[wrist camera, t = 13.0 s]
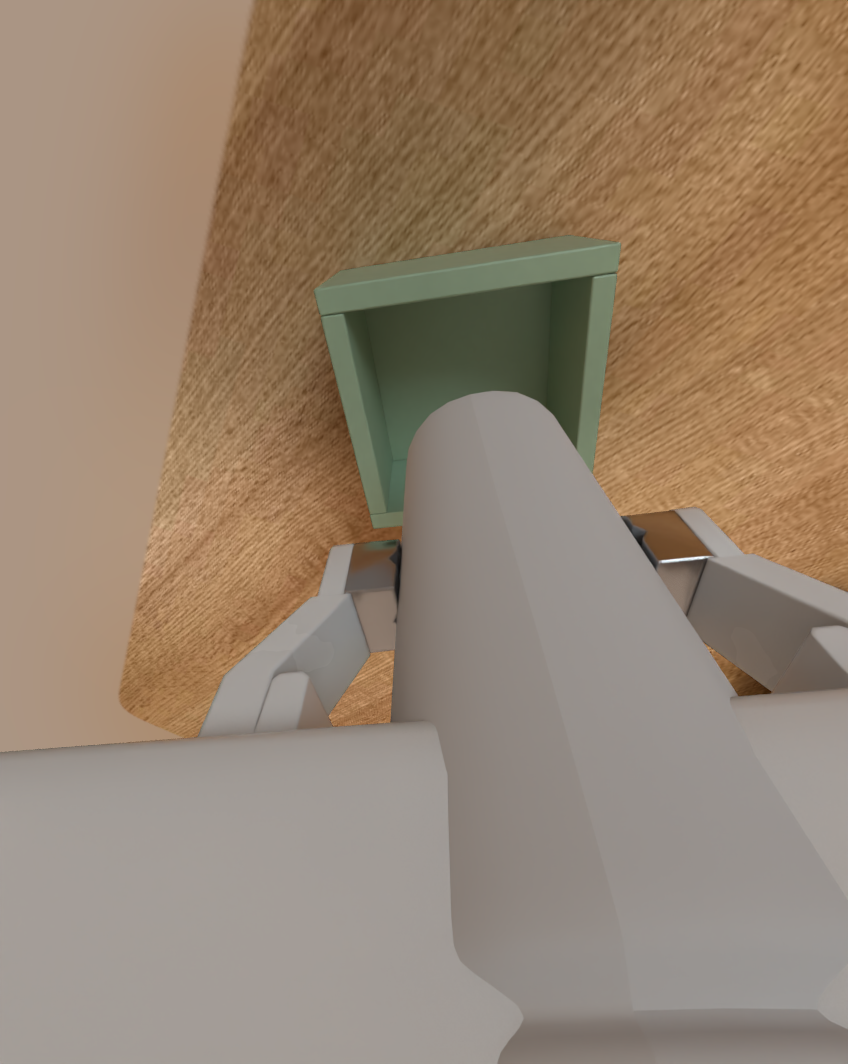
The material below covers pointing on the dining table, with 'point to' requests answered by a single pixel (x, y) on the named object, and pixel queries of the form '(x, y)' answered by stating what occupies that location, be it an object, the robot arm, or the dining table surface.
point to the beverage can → (597, 771)
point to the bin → (467, 344)
